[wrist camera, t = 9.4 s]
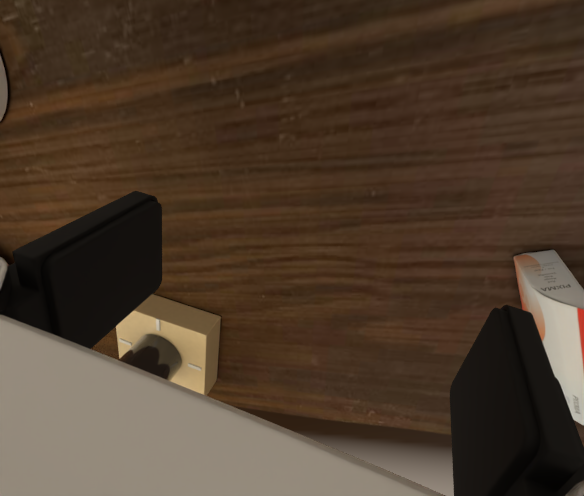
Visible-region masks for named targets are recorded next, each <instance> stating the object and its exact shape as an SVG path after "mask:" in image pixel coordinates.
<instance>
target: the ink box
mask: <svg viewBox="0 0 584 496" xmlns="http://www.w3.org/2000/svg"><path fill="white" fill-rule="evenodd" d="M514 263H515V268H516V275H517V281H518V286H519V292H520V297H521V303H522V309H523V310H524V311H528V312H530V313H532V315H533V317H534V320H535V323H536V326H537V328H538V331H539V334H540V337H541V340H542V342H543V345H544V348H545V351H546V353H547V356H548V359H549V362H550V365H551V367H552V370H553V373H554V376H555V377H556V378H557V379H558V381H559V383H560V385H561V387H562V390H563V393H564V396H565V398H566V401H567V404H568V407H569V409H570V412H571V415H572V417H573V419H574V420H575V421H577V422H579V423H580V424H582V425H584V290H583V288H582V287H581V286H580V284H579V283H578V281H577V280H576V279H575V277H574V276H573V275H572V273H571V272H570V270H569V269H568V268H567V266H566V265H565V264H564V262H563V261H562V260H561V258H560V257H559V255H558V254H557V253H556V251H555V250H549V251H541V252H534V253H524V254H520V255H516V256H514Z"/></svg>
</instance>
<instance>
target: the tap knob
mask: <svg viewBox="0 0 584 496" xmlns="http://www.w3.org/2000/svg"><path fill="white" fill-rule="evenodd" d="M119 361H121V362H124V363H126V364H129V365H131V366H134V367H136V368H139V369H141V370H144V371H146V372H149V373H151V374H154V375H156V376H158V377H161V378H163V379H166V380H168V381H171V380H172V379H173V377H174V376H175V375H176V373H177V372H178V371H179V369H180V368H181V364H182V361H181V356H180V354H179V352H178V350H177V349H176V348H175V347H174V345H173V344H172V343H170V342H169V341H168V340H166V339H165V338H163V337H161V336H158V335H154V334H147V335H144V336H142V337H141V338H140V339H139V340H138V341H137V342H136V343H135V344H134V345H133V346H132V347H131V348H130V349H129V350H128V351H127V352H126V353H125V354H124V355H123V356H122V357H121V358H120V359H119Z"/></svg>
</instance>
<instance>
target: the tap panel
mask: <svg viewBox="0 0 584 496" xmlns="http://www.w3.org/2000/svg"><path fill="white" fill-rule="evenodd" d="M220 322H221V317H220V316H218V315H215V314H212V313H209V312H206V311H203V310H199V309H196V308H193V307H190V306H187V305H184V304H181V303H178V302H175V301H172V300H169V299H166V298H163V297H160V296H157V295H154V294H152V295H151V296H149V297H148V298H147V299H146V300H145V301H144V302H143V303H142V304H140V305H139V306H138V307H137V308H136V309H135V310H134V311H133V312H131V313H130V314H129V315H128V316H127V317H126V318H125V319H124V320H122V321H121V322H120V323H119V324H118V325H117V326H116V331H117V340H118V349H119V358H121V357H122V356H123V355H124V354H125V353H126V352H127V351H128V350H129V349H130V348H131V347H132V346H133V345H134V344H135V343H136V342H137V341H138V340H139V339H140V338H141V337H142V336H144V335H147V334H154V335H158V336H161V337H163V338H165V339H166V340H168V341H169V342H170V343H172V344H173V345H174V347H175V348H176V349H177V350H178V352H179V354H180V356H181V361H182V364H181V368H180V369H179V371H178V372H177V373H176V375H175V376H174V377H173V379H172V380H171V382H173V383H176V384H178V385H181V386H183V387H186V388H188V389H190V390H193V391H195V392H198V393H200V394H203V395H205V396H207V394H208V393H209V391H210V390H211V388H212V386H213V385H214V383H215V382H216V380H217V370H218V354H219V338H220Z"/></svg>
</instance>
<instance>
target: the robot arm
mask: <svg viewBox="0 0 584 496" xmlns="http://www.w3.org/2000/svg"><path fill="white" fill-rule="evenodd" d="M7 99H8V89H7V79H6V73H5V68H4V65H3V61H2V58H1V55H0V121H1V120H2V118H3V116H4V113H5V110H6V105H7ZM12 252H13V256H14V261H15V263H13V264H11V265H9V266H8V264H7V262H6V261H5V260H4V259H3V258H1V257H0V496H445V495H443V494H440V493H438V492H436V491H433V490H431V489H429V488H426V487H424V486H422V485H420V484H417V483H415V482H412V481H410V480H408V479H405V478H403V477H401V476H399V475H396V474H394V473H391V472H389V471H387V470H385V469H382V468H380V467H378V466H375V465H373V464H370V463H368V462H366V461H363V460H361V459H358V458H356V457H354V456H351V455H349V454H346V453H344V452H341V451H339V450H337V449H334V448H332V447H329V446H327V445H324V444H322V443H320V442H317V441H315V440H312V439H310V438H308V437H305V436H303V435H300V434H298V433H296V432H293V431H291V430H288V429H286V428H283V427H281V426H279V425H276V424H274V423H271V422H269V421H266V420H264V419H262V418H259V417H257V416H254V415H252V414H249V413H247V412H244V411H242V410H240V409H237V408H235V407H232V406H230V405H227V404H225V403H222V402H220V401H218V400H215V399H213V398H210V397H208V396H205V395H203V394H200V393H198V392H195V391H193V390H190V389H188V388H186V387H183V386H181V385H178V384H176V383H173V382H171V381H168V380H166V379H163V378H161V377H158V376H156V375H154V374H151V373H149V372H146V371H144V370H141V369H139V368H136V367H134V366H131V365H129V364H126V363H124V362H121V361H119V360H116V359H114V358H111V357H109V356H106V355H104V354H101V353H99V352H96V351H94V350H91V348H92V347H93V346H94V345H95V344H96V343H98V342H99V341H100V340H101V339H102V338H103V337H104V336H105V335H107V334H108V333H109V332H110V331H111V330H112V329H113V328H114V327H116V326H117V325H118V324H119V323H120V322H121V321H122V320H124V319H125V318H126V317H127V316H128V315H129V314H130V313H131V312H133V311H134V310H135V309H136V308H137V307H138V306H139V305H140V304H142V303H143V302H144V301H145V300H146V299H147V298H148V297H149V296H151V295H152V294H153V293H154V292H155V291H156V290H157V289H158V288H159V286H160V284H161V281H162V207H161V204H160V203H158V201H157V198H156V197H155V196H151V195H148V194H145V193H142V192H138V191H134V192H132V193H130V194H128V195H126V196H124V197H122V198H120V199H118V200H116V201H113V202H111V203H109V204H107V205H105V206H103V207H101V208H99V209H97V210H95V211H93V212H91V213H89V214H87V215H85V216H83V217H81V218H79V219H77V220H75V221H73V222H71V223H69V224H67V225H65V226H63V227H61V228H59V229H57V230H55V231H53V232H51V233H49V234H47V235H45V236H43V237H41V238H39V239H37V240H35V241H33V242H30V243H28V244H26V245H24V246H22V247H20V248H18V249H16V250H14V251H12ZM450 410H451V433H452V455H453V479H454V496H584V447H583V445H582V442H581V439H580V436H579V434H578V431H577V428H576V426H575V423H574V420H573V417H572V415H571V412H570V409H569V407H568V404H567V401H566V398H565V396H564V393H563V390H562V387H561V385H560V383H559V381H558V379H557V378H556V377H555V376H554V373H553V370H552V367H551V365H550V362H549V359H548V356H547V353H546V351H545V348H544V345H543V342H542V340H541V337H540V334H539V331H538V328H537V326H536V323H535V320H534V317H533V315H532V313H530V312H528V311H524V310H521V309H518V308H515V307H511V306H508V305H505V306H503V307H502V308H501V309H498V308H494V309H493V310H492V311H491V313H490V315H489V317H488V318H487V320H486V322H485V324H484V326H483V328H482V329H481V331H480V333H479V335H478V337H477V339H476V340H475V342H474V344H473V346H472V348H471V349H470V351H469V353H468V355H467V357H466V359H465V360H464V362H463V364H462V366H461V368H460V369H459V371H458V373H457V375H456V377H455V379H454V380H453V383H452V386H451V390H450Z"/></svg>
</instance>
